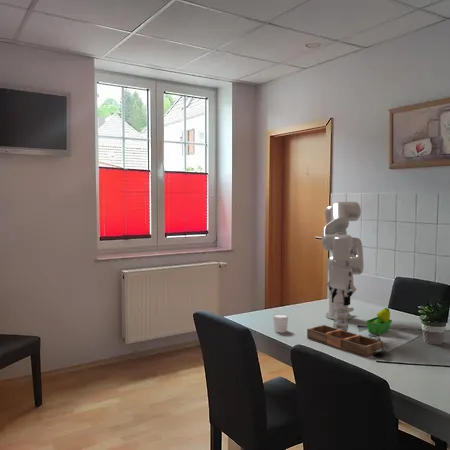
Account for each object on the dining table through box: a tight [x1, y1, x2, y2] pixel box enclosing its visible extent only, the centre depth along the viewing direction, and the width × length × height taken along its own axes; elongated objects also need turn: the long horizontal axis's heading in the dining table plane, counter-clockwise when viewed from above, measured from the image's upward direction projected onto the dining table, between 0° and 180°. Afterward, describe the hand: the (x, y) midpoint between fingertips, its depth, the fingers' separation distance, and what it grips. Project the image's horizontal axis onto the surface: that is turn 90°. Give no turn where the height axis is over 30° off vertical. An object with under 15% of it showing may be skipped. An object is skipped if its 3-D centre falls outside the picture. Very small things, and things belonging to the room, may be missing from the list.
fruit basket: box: [365, 307, 393, 335], centre depth 208 cm, size 11×9×11 cm
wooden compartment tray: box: [306, 324, 384, 358], centre depth 190 cm, size 11×30×4 cm, turn 36°
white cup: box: [272, 313, 289, 334], centre depth 210 cm, size 7×7×7 cm
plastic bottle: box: [332, 289, 349, 332], centre depth 207 cm, size 6×7×20 cm
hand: (340, 303), depth 207 cm, fingers closed on plastic bottle, 6 cm apart
